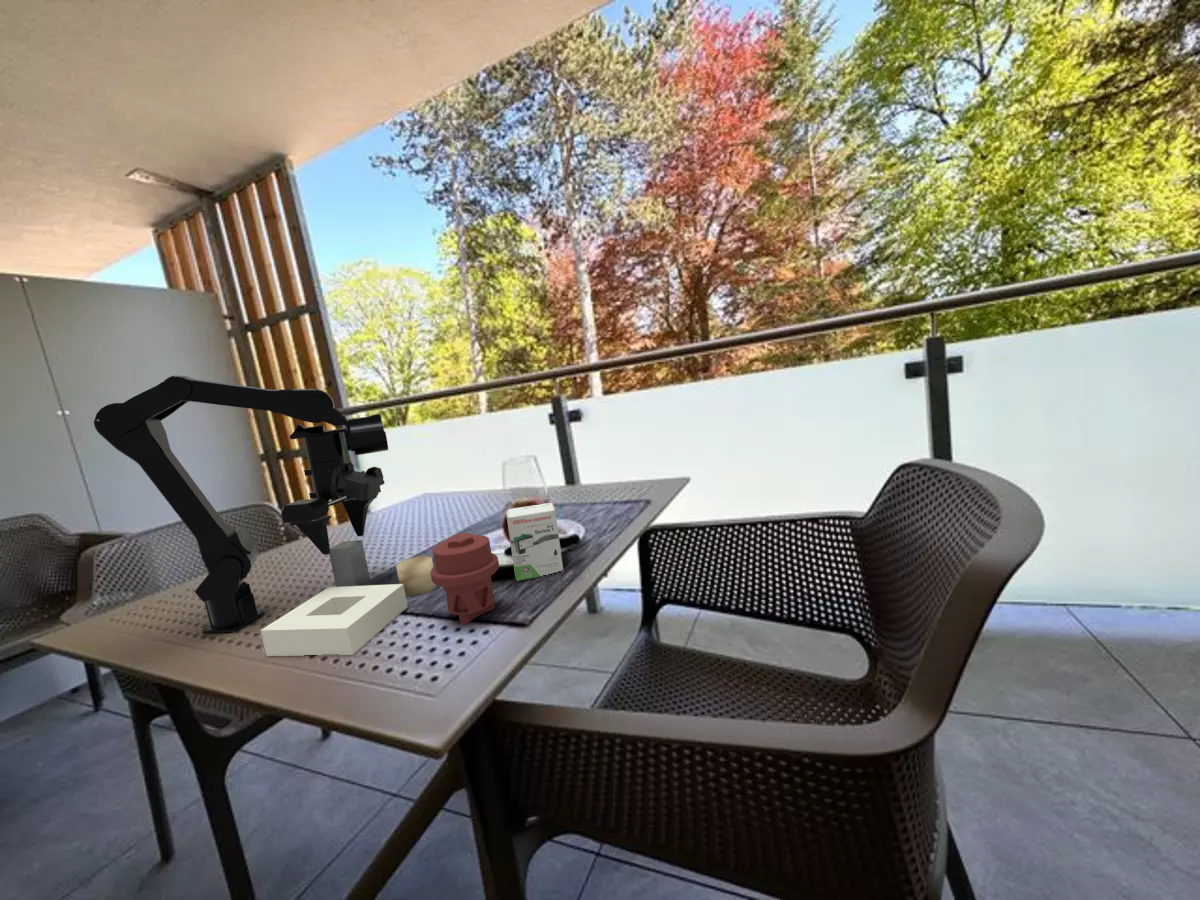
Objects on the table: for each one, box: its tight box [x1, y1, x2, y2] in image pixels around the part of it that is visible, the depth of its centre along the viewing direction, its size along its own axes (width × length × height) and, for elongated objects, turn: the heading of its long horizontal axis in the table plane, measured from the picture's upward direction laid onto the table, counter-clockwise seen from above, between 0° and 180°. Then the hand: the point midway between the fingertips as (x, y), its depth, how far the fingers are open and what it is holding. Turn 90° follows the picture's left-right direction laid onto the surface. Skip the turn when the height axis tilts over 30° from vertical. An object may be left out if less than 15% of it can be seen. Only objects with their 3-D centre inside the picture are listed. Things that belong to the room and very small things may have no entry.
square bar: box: [328, 539, 372, 587], centre depth 93 cm, size 4×4×9 cm
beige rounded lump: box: [396, 555, 437, 597], centre depth 91 cm, size 6×6×5 cm
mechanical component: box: [430, 532, 500, 625], centre depth 78 cm, size 12×10×10 cm
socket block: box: [260, 583, 409, 657], centre depth 78 cm, size 14×14×4 cm
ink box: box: [505, 502, 564, 582], centre depth 91 cm, size 9×5×12 cm, turn 102°
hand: (344, 544), depth 92 cm, fingers open, 9 cm apart
